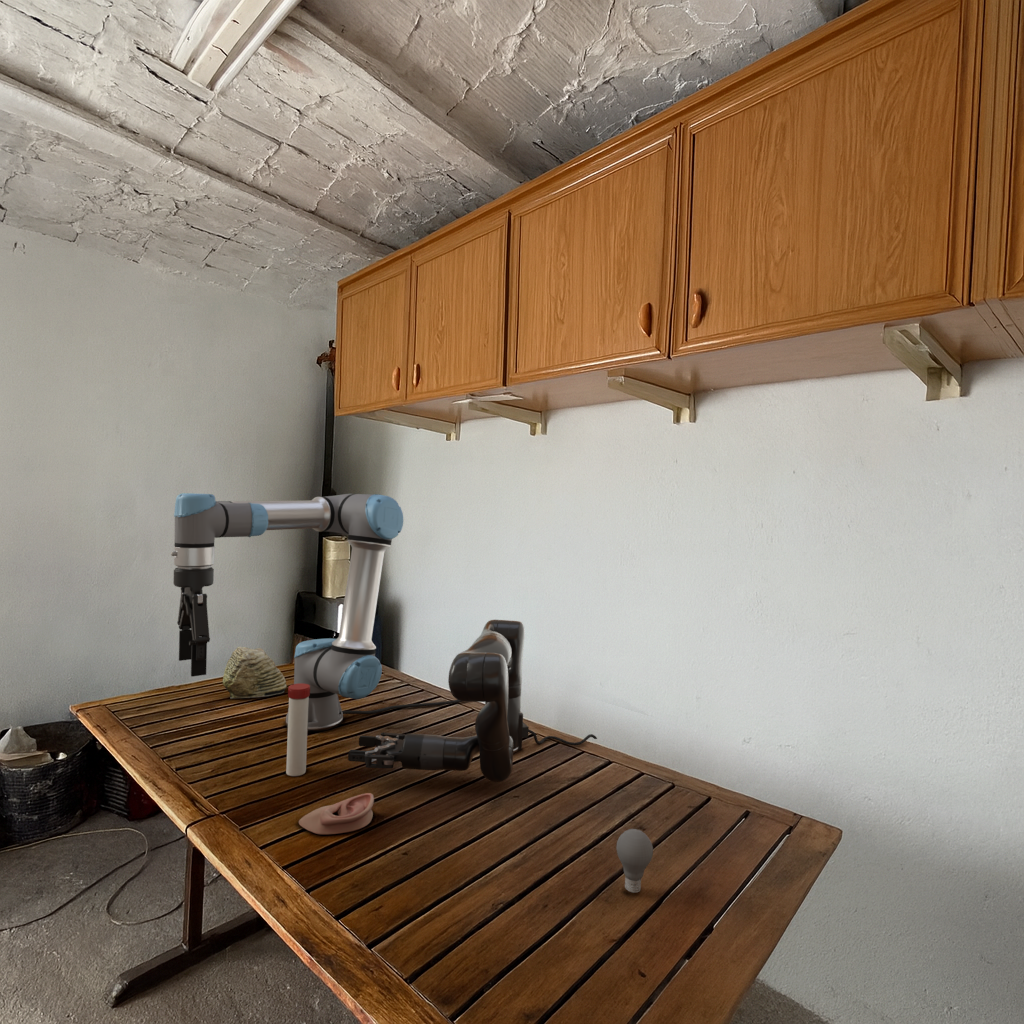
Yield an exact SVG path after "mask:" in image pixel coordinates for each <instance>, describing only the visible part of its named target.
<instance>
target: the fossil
mask: <svg viewBox="0 0 1024 1024" xmlns="http://www.w3.org/2000/svg"><path fill="white" fill-rule="evenodd" d="M222 676H223V677H222V685H223V687H224V688H225V690H226V691H228V693H229V698H230V699H250V698H264V697H271V696H275V695H281V694H284V693H285V691H286V689H287V687H288V686H287V680H286V678H285V676H284V674H283V673H282V672H281V669H279V668H278V667H277V665H276V663H275V662H274V660H273V659H272V658H271V657H270V656H269V655H268V654H267V653H266V652H265V650H264V649H263V648H260V647H258V648H251V647H247V646H246V647H245V646H238V647H237V648H236V649H235V650H233V651H232V653H231V656H230V657H229V659H228V660H227V663H226V666H225V668H224V671H223V675H222Z"/></svg>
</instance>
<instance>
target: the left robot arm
mask: <svg viewBox="0 0 1024 1024" xmlns="http://www.w3.org/2000/svg"><path fill="white" fill-rule="evenodd" d="M174 504H175V505H174V513H173V517H174V545H173V546H174V551H173V550H172V551H171V552H170V556H171V557H174V558H173V565H174V566H175V568H174V569H173V582H172V583H173V585H174V587H177V588H180V599H179V608H178V616H177V622H176V623H177V625H178V629H179V632H178V661H179V662H181V661H189V660H190V661H191V662H190V677H191V678H192V677H199V676H200V677H201V676H207V662H208V661H207V660H208V659H207V658H208V657H207V656H208V643H209V642H210V641H211V637H210V628H209V616H208V615H209V614H208V602H207V601H208V595H207V593H204V592H203V588H204V587H210V586H212V585H213V584H214V578H215V577H214V574H215V573H214V568H213V567H212V566H214V565H215V548H216V547H215V539H217V538H219V539H220V538H251V537H258V536H262V535H263V534H264V533H265V532H266V531H279V530H281V531H283V530H304V529H312V530H314V531H315V532H319V533H321V532H329V533H338V534H342V535H348V536H347V542H348V544H349V546H350V547H351V553H350V561H349V567H348V573H347V581H346V585H345V586H346V587H345V594H344V598H343V599H344V600H343V607H342V613H341V614H342V615H341V620H340V626H339V633H338V637H337V638H331V637H329V638H317V639H316V638H315V639H308V640H304V641H300V642H299V643H298V644H297V645H296V646H295V650H294V651H295V652H294V655H293V658H294V672H293V684H308V685H310V695H309V701H308V727H307V733H316V732H325V731H329V730H332V729H335V728H337V727H339V726H340V725H342V723H343V722H344V715H372V714H373V715H374V714H379V713H383V712H386V711H391V710H396V709H406V708H407V709H409V708H420V707H434V706H446V705H453V704H458V703H465V701H460V700H457V699H453V700H446V701H436V702H424V703H423V702H421V703H409V704H397V705H390V706H385V707H382V708H378V709H373V710H372V709H371V710H343V709H342V706H341V702H340V699H339V695H340V696H341V697H343V698H345V699H352V700H360V699H364V698H366V697H368V696H369V695H370V694H371V693H372V692H373V691H374V690H376V688H377V686H378V685H379V683H380V681H381V677H382V673H383V667H382V664H381V662H380V659H379V658H377V656H376V652H377V651H376V650H377V646H376V644H374V642H373V640H372V639H373V632H374V625H375V619H376V612H377V605H378V599H379V590H380V584H381V578H382V571H383V564H384V556H385V552H386V551H387V550H388V549H390V548H391V547H392V541H393V539H395V538H396V537H398V536H399V534H400V533H401V531H402V530H403V527H404V512H403V509H402V507H401V506H400V504H399V503H398V501H397V500H396V499H395V498H393V497H391V496H389V495H383V494H377V493H374V494H372V493H365V494H364V493H344V494H337V495H328V496H315V497H313V498H312V499H311V500H309V499H308V500H303V499H302V500H297V499H296V500H216V496H215V495H214V494H212V493H189V492H187V493H186V492H184V493H180V494H177V496H176V498H175V503H174ZM288 711H289V707H288V708H287V713H286V715H285V726H286V728H288Z"/></svg>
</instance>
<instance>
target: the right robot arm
mask: <svg viewBox="0 0 1024 1024" xmlns="http://www.w3.org/2000/svg"><path fill="white" fill-rule="evenodd" d="M483 626H484V627H483V629H482V631H481V634H480V635H479V636H478V637H477V638H476V639H475V640H474V641H473V642H472V644H471V645H470V646H469V647H468V648H467V649H464V651H461V652H459V653H457V654H456V655H455V657H454V658H453V660H452V661H451V664H450V667H449V671H448V677H447V678H448V682H447V683H448V688H449V691H450V693H451V695H452V697H453V698H454V699H455V700H460V701H464V703H465V702H466V703H467V702H468V703H473V702H474V703H484V704H485V705H484V706H482V708H481V709H480V710H479V712H478V713H477V715H476V718H475V722H474V730H475V734H476V735H472V736H466V737H456V736H444V735H437V734H426V733H425V734H423V733H406V734H405V733H397V732H396V733H394V732H380V734H376V735H375V736H374V735H360V736H359V737H358V746H360V747H367V748H368V747H369V748H374V749H371V750H370V749H369V750H359V749H350V750H349V751H348V753H347V760H348V761H349V762H357V763H358V762H359V763H364V764H365V768H367V769H393V768H394V763H395V762H396V763H397V762H400V763H401V767H402V769H404V770H417V771H418V770H419V771H455V772H457V771H458V772H464V771H467V770H468V769H469V768H470V766H471V763H472V760H473V758H474V757H475V756H476V755H478V754H479V768H480V772H481V775H482V776H483V778H484V777H485V779H487V780H488V781H490V782H492V783H501V782H504V781H506V780H508V778H509V777H510V776H511V774H512V772H513V762H514V753H517V752H519V751H522V749H523V739H526V738H529V734H530V735H532V736H533V739H534V742H535V744H536V745H541V744H543V743H544V742H545V741H547V740H556V741H559V742H560V743H563V744H565V745H568V746H580V745H583V744H584V743H586V742H587V741H588V740H589V739H590V738H592V739H594V740H598V737H597V736H596V735H595V734H592V733H590V734H589V733H588V734H587V735H585V737H584V738H582V739H581V740H580V741H576V742H575V741H574V742H572V741H568V740H566V739H563V738H561V737H558V736H555V735H547V736H545V737H543V738H542V739H541V740H538V735H537V734H536V733H535V732H534V731H533V730H532V729H530V727H529V726H528V725H527V723H525V722H524V713H523V712H522V711H521V709H522V708H521V707H522V706H521V704H522V683H523V682H522V681H523V660H524V659H523V658H524V649H525V639H526V629H525V625H524V623H523V621H520V620H511V619H510V620H509V619H490V620H488V621H487V622H486V623H485V624H484V625H483Z"/></svg>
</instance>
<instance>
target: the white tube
mask: <svg viewBox="0 0 1024 1024" xmlns="http://www.w3.org/2000/svg"><path fill="white" fill-rule="evenodd" d="M308 701H309V697H307V698H303V699H292V698H289V697H288V708H289V711H288V710H287V713H288V727H287V738H286V739H287V740H286V741H287V743H286V765H285V766H286V767H285V770H286V771H285V774H286V775H287V776H290V777H299V776H302V775H305V773H306V772H307V752H308V751H307V750H308V749H307V748H308V732H307V727H308Z"/></svg>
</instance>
